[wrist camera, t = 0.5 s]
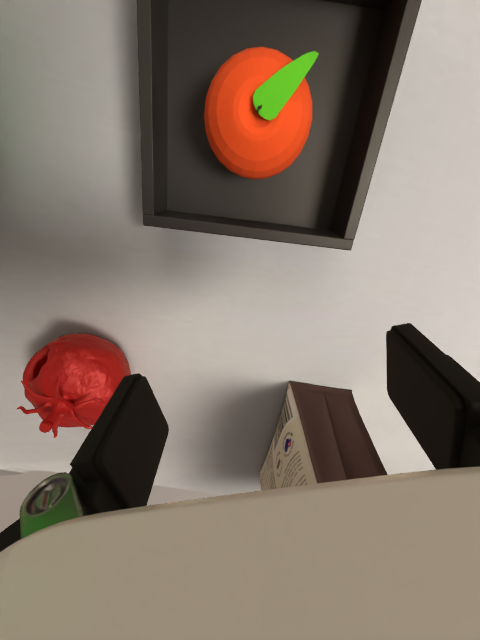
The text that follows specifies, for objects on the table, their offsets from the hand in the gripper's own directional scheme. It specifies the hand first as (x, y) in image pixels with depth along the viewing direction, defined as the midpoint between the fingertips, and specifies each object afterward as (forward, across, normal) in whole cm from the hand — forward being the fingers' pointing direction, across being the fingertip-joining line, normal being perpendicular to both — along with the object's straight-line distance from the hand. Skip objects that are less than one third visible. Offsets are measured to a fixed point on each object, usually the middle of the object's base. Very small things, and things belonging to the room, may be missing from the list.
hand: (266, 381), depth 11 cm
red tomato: (+18, +20, +7) cm, 27 cm away
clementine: (+17, -3, -10) cm, 20 cm away
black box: (+18, -3, -10) cm, 21 cm away
